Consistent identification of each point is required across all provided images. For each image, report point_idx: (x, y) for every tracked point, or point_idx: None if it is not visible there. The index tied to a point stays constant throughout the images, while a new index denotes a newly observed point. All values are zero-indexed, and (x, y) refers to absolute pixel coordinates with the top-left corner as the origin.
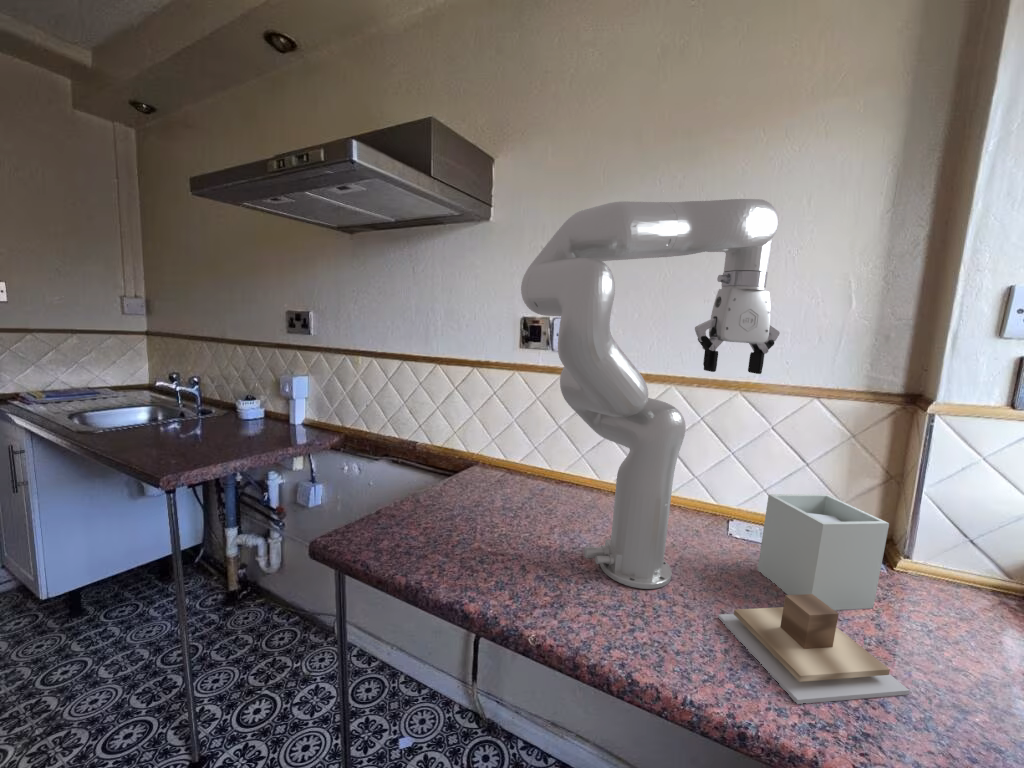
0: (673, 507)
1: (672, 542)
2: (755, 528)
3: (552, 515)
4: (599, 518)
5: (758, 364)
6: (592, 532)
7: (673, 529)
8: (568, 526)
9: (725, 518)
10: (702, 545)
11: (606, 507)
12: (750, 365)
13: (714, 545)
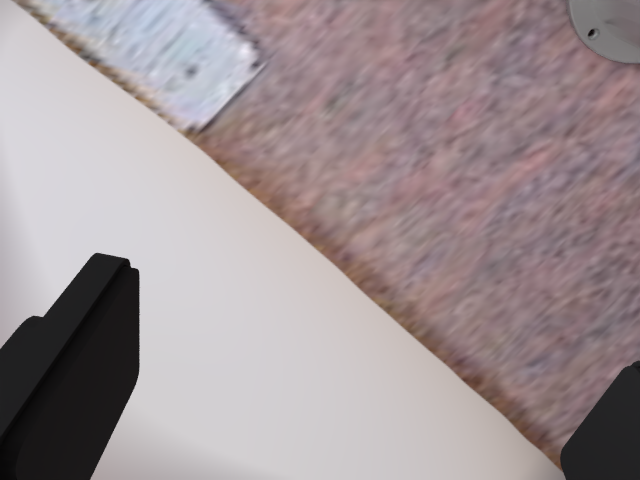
0: (294, 221)
1: (443, 68)
2: (160, 74)
3: (616, 253)
4: (521, 216)
5: (97, 337)
6: (594, 161)
7: (386, 125)
8: (625, 200)
9: (201, 140)
10: (379, 33)
11: (460, 257)
12: (112, 411)
13: (347, 25)
